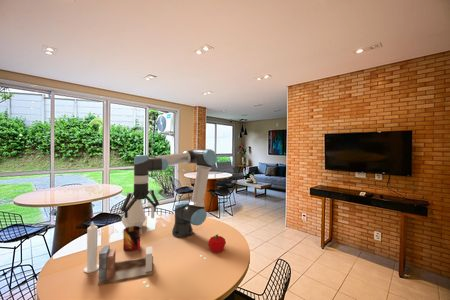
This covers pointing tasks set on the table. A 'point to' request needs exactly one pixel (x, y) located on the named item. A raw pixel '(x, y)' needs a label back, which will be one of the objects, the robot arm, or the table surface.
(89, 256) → the white round flared column
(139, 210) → the vase
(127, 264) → the rack
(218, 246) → the apple
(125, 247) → the mug
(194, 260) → the table surface
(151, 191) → the robot arm
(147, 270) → the bookend
